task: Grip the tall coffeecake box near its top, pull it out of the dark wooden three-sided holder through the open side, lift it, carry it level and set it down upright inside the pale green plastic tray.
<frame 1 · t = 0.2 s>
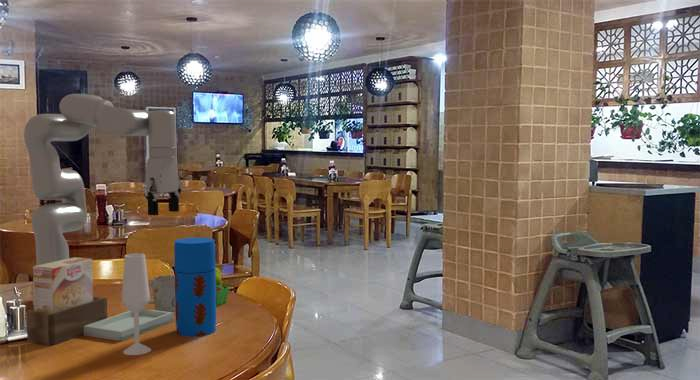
hand: (163, 213, 193), 31 cm above the table, tool pointing down, fingers open, 9 cm apart
thermos: (196, 331, 184), on the table
holder: (65, 333, 181), on the table
champagne flute: (137, 351, 166), on the table
coffeecake box: (65, 334, 181), on the table
fruit basket: (210, 303, 215), on the table
mug: (159, 310, 206), on the table
tray: (130, 327, 186), on the table
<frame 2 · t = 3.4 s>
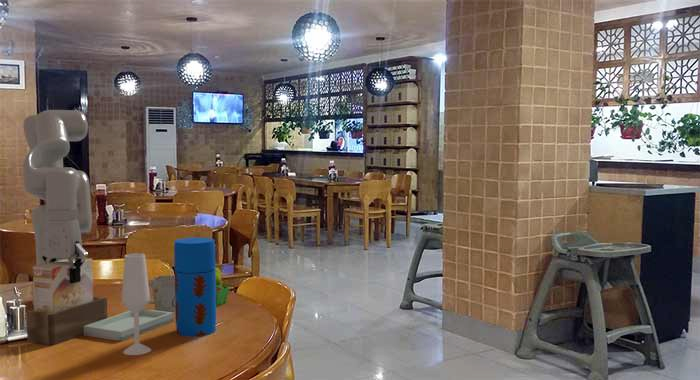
hand: (64, 280, 180), 14 cm above the table, tool pointing down, fingers closed on coffeecake box, 7 cm apart
coffeecake box: (65, 333, 181), on the table, touching gripper
everything else where it was.
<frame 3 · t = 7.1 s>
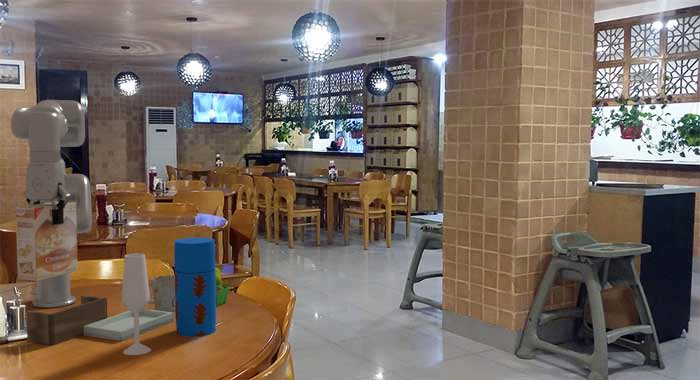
hand: (47, 222, 182), 30 cm above the table, tool pointing down, fingers closed on coffeecake box, 7 cm apart
coffeecake box: (49, 275, 183), point 15 cm above the table, touching gripper
everything else where it was.
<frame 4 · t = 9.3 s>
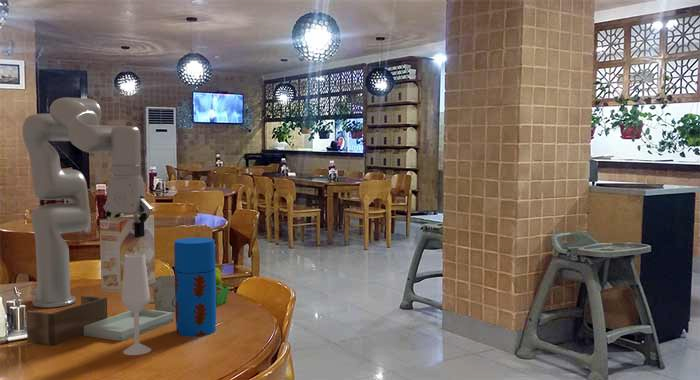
hand: (128, 235, 184), 26 cm above the table, tool pointing down, fingers closed on coffeecake box, 7 cm apart
coffeecake box: (129, 287, 185), point 11 cm above the table, touching gripper
everything else where it was.
when the fingers open (17 cm above the table, at t = 11.3 s): coffeecake box drops 2 cm, resting on tray.
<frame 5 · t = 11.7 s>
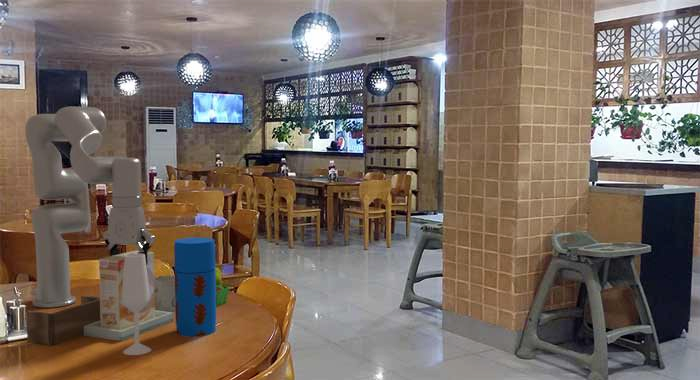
hand: (128, 264, 185), 18 cm above the table, tool pointing down, fingers open, 9 cm apart
coffeecake box: (128, 324, 187), point 1 cm above the table, touching tray
everything else where it was.
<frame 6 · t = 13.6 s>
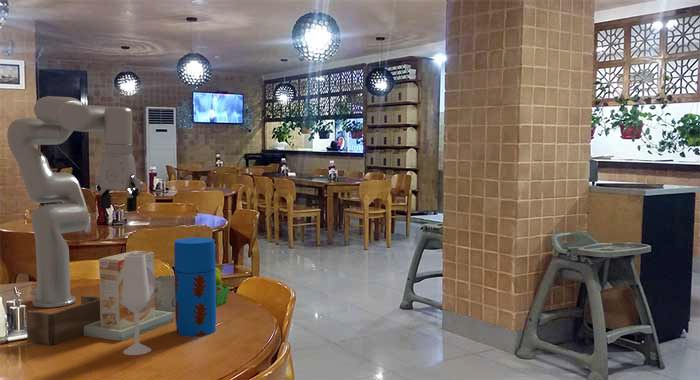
hand: (118, 209, 193), 32 cm above the table, tool pointing down, fingers open, 9 cm apart
nothing on the table moved.
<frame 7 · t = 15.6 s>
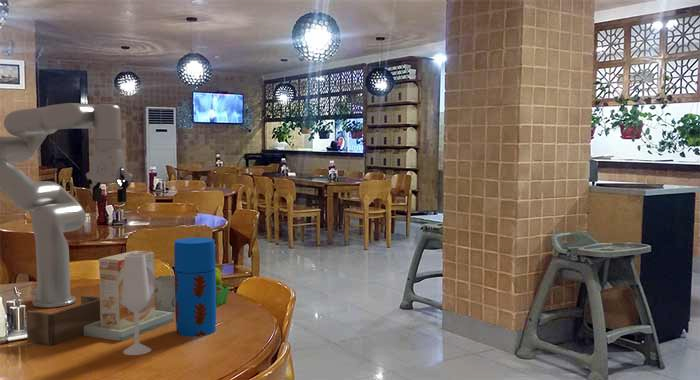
hand: (109, 201, 204), 33 cm above the table, tool pointing down, fingers open, 9 cm apart
nothing on the table moved.
at the end: coffeecake box inside the target area on the tray (0.6 cm from its centre), point 0.8 cm above the tray's base; coffeecake box tilted 0°; the gripper is holding nothing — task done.
